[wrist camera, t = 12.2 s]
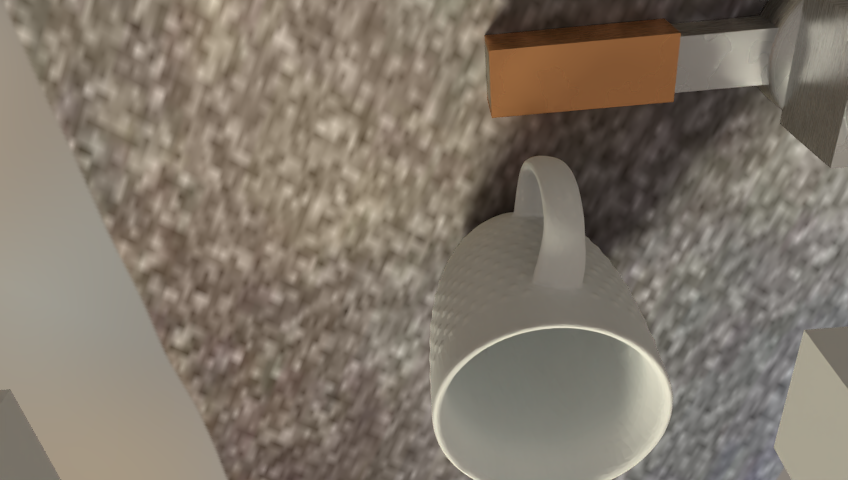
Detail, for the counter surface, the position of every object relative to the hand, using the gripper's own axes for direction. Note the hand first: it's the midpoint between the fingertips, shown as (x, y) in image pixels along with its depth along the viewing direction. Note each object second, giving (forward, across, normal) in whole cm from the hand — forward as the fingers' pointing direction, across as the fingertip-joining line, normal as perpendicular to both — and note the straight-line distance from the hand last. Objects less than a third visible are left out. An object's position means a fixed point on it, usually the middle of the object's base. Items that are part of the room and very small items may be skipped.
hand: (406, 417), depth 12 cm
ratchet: (+27, +14, -3) cm, 30 cm away
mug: (+27, +5, -14) cm, 31 cm away
